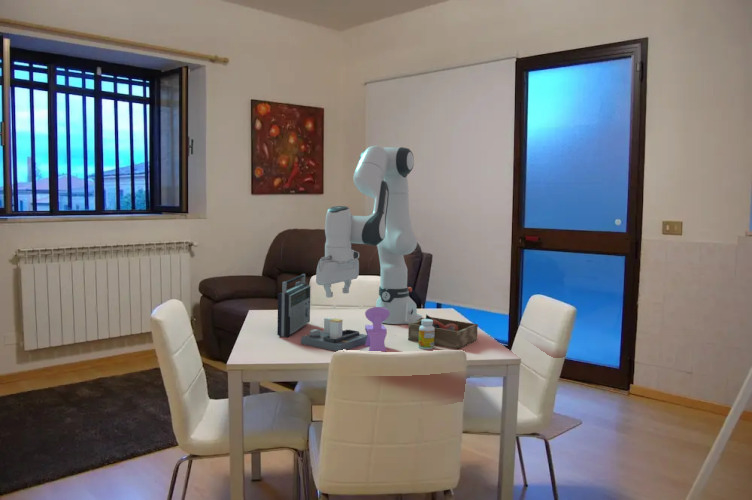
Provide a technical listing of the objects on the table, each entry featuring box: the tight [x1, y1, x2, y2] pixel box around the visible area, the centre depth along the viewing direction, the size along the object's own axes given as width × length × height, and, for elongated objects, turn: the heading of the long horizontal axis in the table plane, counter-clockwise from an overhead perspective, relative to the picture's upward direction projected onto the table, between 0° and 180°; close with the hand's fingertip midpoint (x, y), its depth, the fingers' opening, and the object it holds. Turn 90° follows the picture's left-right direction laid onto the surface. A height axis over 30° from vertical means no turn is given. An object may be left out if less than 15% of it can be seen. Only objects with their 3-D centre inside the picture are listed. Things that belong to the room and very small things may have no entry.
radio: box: [276, 273, 311, 338], centre depth 229 cm, size 24×5×20 cm, turn 168°
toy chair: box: [364, 306, 390, 351], centre depth 205 cm, size 8×9×15 cm
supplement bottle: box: [418, 318, 435, 350], centre depth 209 cm, size 5×5×10 cm
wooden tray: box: [407, 316, 479, 350], centre depth 220 cm, size 16×20×6 cm
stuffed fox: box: [425, 313, 461, 331], centre depth 221 cm, size 8×11×12 cm
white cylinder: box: [330, 317, 344, 339], centre depth 206 cm, size 3×3×7 cm
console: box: [300, 317, 367, 352], centre depth 211 cm, size 17×17×8 cm
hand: (337, 295), depth 205 cm, fingers open, 8 cm apart
